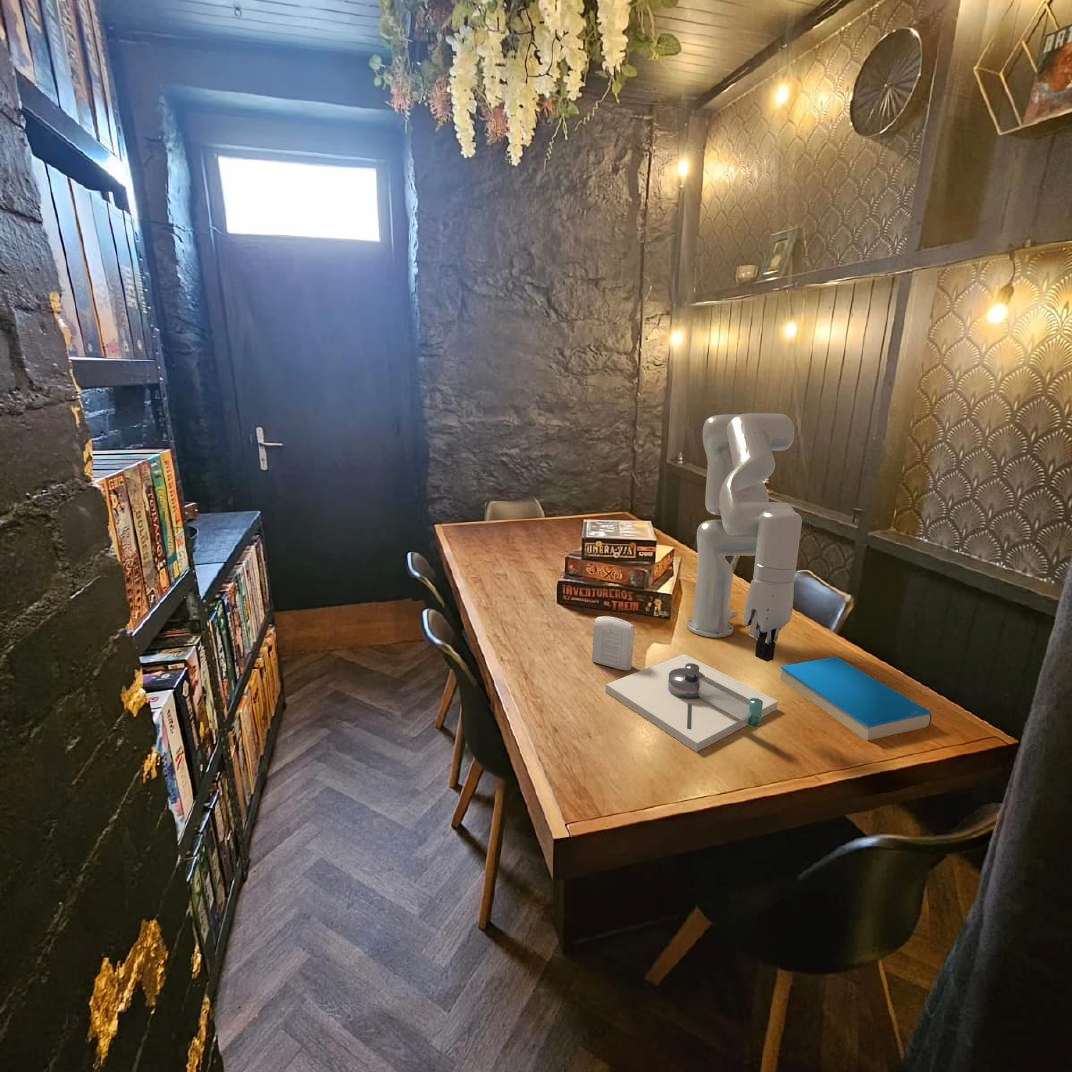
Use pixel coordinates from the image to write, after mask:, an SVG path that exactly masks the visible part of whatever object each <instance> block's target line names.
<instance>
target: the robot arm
mask: <svg viewBox="0 0 1072 1072" xmlns="http://www.w3.org/2000/svg"><path fill="white" fill-rule="evenodd" d="M794 438H795V427H794V423H793V421H792V420H791V418H790V417H789V416H788V415H786V414H784V413H760V412H759V413H757V412H749V413H747V412H746V413H742V414H737V413H736V414H733V413H732V414H731V413H730V414H728V413H727V414H726V413H725V414H717V415H713V416H710V417H708V418H707V419H706V420H705V421H704V423H703V427H702V443H703V448H704V452H705V455H706V461H707V468H706V469H707V470H706V472H707V473H706V483H705V484H706V485H705V497H704V499H705V501H704V505H705V508H706V511H707V512H708V513H710V514H711V515H714V516H715V515H716V516H720V517H721V519H710V520H705V521H703V522H702V523H700V524H699V526H698V527H697V530H696V543H697V566H696V567H697V569H696V580H695V592H694V601H693V602H694V605H693V614H692V617H691V618H689V619H687V622H686V627H687V629H688V630H689V631H691V632H692V633H694V634H695V635H698V636H701V637H706V638H715V639H716V638H726V637H729V636H730V635H732V634H733V632H734V625H732V623H731V622H730V620H731V619H733V618H736V617H738V611H737V610H736V609H732V610H730V607H731V606H730V605H731V598H732V589H733V578H734V570H733V568H732V565H731V563H729V562H728V560H727V559H726V557H727V556H731V557H732V556H744V557H753V556H755V557H754V566H753V575H752V576H753V577H752V578H753V579H751V581H750V585H749V587H748V590H747V595H746V600H745V605H744V610H743V611H744V612H743V619H742V624H743V625H744V626H746V627H750V628H749V632H748V636H750V637H751V638H753V639H754V638H755V640H756V642H755V643H756V644H755V651H754V652H755V653H754V656H755V658H757V659H759V660H762V661H763V662H767V663H769V662H771V661H773V660H774V659H775V651H776V650H775V649H776V643H777V641H778V639H779V635H780V631H781V630H782V629H783V628H784V627H785V626H786V625H788V624H789V623H790V622H791V620H792V619H791V618H792V614H793V607H794V597H795V596H794V594H795V593H794V592H795V591H794V590H795V589H794V588H795V587H794V586H795V577H796V571H797V563H798V555H799V548H800V542H801V541H800V540H801V531H802V525H803V520H802V519H803V518H802V516H801V514H799V513H798V512H796V511H795V509H794V507H793V506H792V505H790V504H789V503H787V502H782V501H781V502H780V501H779V502H778V501H770V500H769V491H768V489H767V486H766V484H764V482H763V481H765V480H767V479H768V478H770V476H772V474H773V473H774V471H775V468H776V461H775V458H774V454H773V451H774V452H775V451H776V452H777V451H787V450H788V449H789V448H790V447H791V446H792V445H793V442H794Z"/></svg>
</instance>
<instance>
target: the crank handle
mask: <svg viewBox="0 0 1072 1072" xmlns="http://www.w3.org/2000/svg"><path fill="white" fill-rule="evenodd" d="M668 689H669V691H670V692H671V693H672V694H674V695H676V696H678V697H681V698H685V699H697V698H700V697H701V698H703V699H705V700H706V701H708V702H710V703H712V704H713V705H715V706H717V707H719V708H720V709H722V710H724V711H726V712H728V713H729V714H731V715H733V716H735V717H736V718H738V719H740V720H742V721H744V722H745V723H747V724H748V725H747V726H749V727H752V728H759V727H760V726H761V721H762V720H761V719H762V718H761V714H762V706H763V701H762V700H760V699H758V698H751V699H748V698H746V697H744V696H742V695H740V694H738V693H736V692H734V691H733V690H731V689H729V688H727V687H725V686H723V685H721V684H719V683H717V682H715V681H713V680H712V679H710V678H708V677H705V676H704V675H703V674H702V673H701V672H699V666H698V665H696V664H693V663H688V664H686V665H685V668H678V669H674V670H672V671H671V672H670V673H669V680H668Z"/></svg>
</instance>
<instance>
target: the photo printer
mask: <svg viewBox="0 0 1072 1072" xmlns="http://www.w3.org/2000/svg"><path fill="white" fill-rule="evenodd" d="M634 641H635V627H634V624H632V623H630V621H629V622H628V621H626V620H625V619H622V618H619V617H615V616H608V615H607V616H606V615H605V616H597V617H596V618H594V624H593V632H592V652H591V653H592V654H591V661H592V662H593V663H596V664H599V665H603V666H607V667H609V668H610V667H611V668H614V669H617V670H621V671H626V672H627V671H630V670H631V669H632V666H633V656H634V655H633V654H634V653H633V651H634Z"/></svg>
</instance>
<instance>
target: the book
mask: <svg viewBox="0 0 1072 1072" xmlns="http://www.w3.org/2000/svg"><path fill="white" fill-rule="evenodd" d="M780 669H781V671H780V677H779V678H780V681H782V682H783V683H785V684H786V685H788V687H790V688H792V689H793V690H794V691H796V693H797V692H798V693H799V694H800V695H801V696H802V697H805V698H806V699H807V700H809V701H810V702H812V703H813V704H814V705H815V706H817V707H818V708H820V709H821V710H823V711H824V712H826V713H827V714H828V715H830V716H831V717H833V719H835V720H837V721H838V722H840V723H841V724H843V725H844V726H845V727H847V728H848V729H849V730H850V731H852V732H854V733H855V734H857V735H858V736H859V737H861V738H862V739H864V740H865V741H867V742H868V741H872V740H876V739H880V738H885V737H888V736H892V735H897V734H902V733H906V732H911V731H915V730H919V729H925V728H927V727H930V725H931V723H932V711H931V710H928V709H927V708H925V707H924V706H922V705H920V704H919V703H917V702H915V701H913V700H911V699H910V698H908V697H906V696H905V695H903V694H901V693H900V692H898V691H896V690H894V689H893V688H891V687H889V686H887V685H886V684H884V683H882V682H881V681H878V680H877V679H875V678H873V676H870V675H868V674H866V673H865V672H863V671H861V670H860V669H858V668H856V667H855V666H854V665H851V664H850V663H848V662H846V661H845V660H843V659H841V658H839V657H838V656H833V657H829V658H821V659H816V660H811V661H805V662H798V663H792V664H787V665H781V666H780Z"/></svg>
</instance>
